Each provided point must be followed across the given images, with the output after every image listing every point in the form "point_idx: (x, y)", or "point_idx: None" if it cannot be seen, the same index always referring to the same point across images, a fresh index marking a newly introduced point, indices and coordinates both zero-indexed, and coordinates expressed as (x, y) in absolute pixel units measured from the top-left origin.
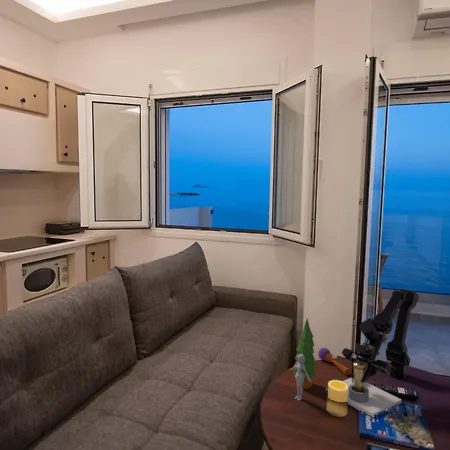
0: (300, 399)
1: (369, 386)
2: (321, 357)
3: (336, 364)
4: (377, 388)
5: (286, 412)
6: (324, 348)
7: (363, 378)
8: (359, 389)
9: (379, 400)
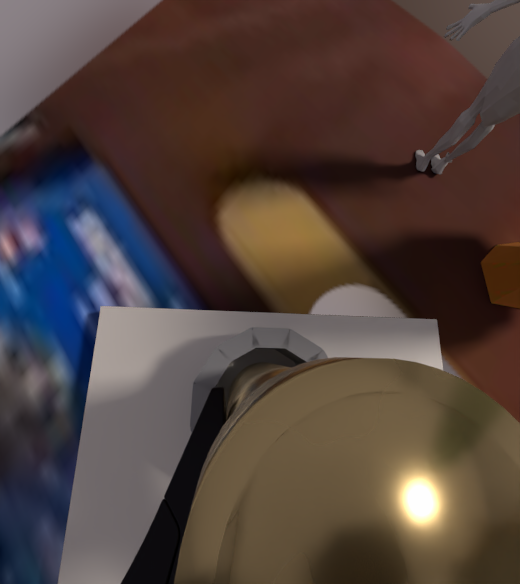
0: (417, 163)
1: None
2: None
3: None
4: None
5: (369, 62)
6: None
7: (210, 419)
8: (242, 376)
9: (153, 494)
